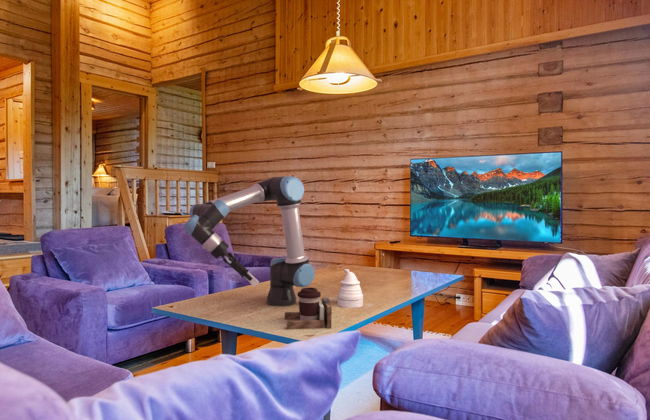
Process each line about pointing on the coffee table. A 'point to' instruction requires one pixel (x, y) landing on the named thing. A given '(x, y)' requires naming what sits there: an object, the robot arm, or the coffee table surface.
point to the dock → (310, 323)
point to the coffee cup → (309, 304)
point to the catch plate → (321, 311)
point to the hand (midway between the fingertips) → (256, 284)
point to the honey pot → (350, 291)
